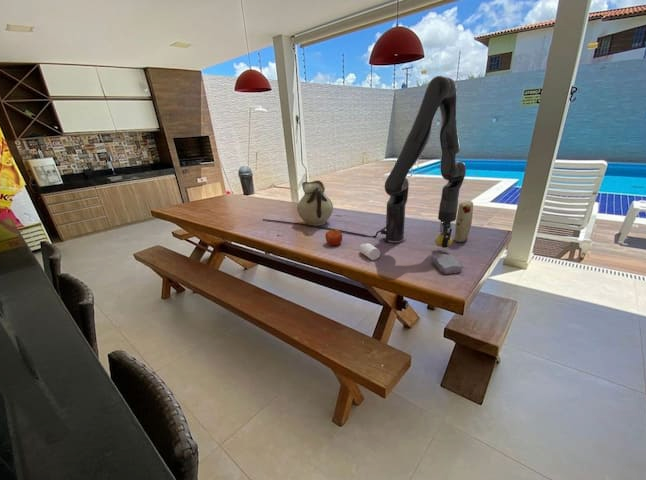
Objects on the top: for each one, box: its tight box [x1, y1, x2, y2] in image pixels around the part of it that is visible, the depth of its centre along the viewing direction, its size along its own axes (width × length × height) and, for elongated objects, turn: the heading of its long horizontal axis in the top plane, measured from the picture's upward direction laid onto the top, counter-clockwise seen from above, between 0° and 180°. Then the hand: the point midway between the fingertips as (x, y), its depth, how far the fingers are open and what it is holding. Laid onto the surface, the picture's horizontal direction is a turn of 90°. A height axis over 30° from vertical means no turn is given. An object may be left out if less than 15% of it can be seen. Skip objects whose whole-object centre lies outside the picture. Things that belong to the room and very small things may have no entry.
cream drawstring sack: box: [296, 180, 334, 227], centre depth 188 cm, size 22×24×25 cm
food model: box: [454, 200, 474, 243], centre depth 151 cm, size 10×7×20 cm
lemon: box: [434, 234, 453, 248], centre depth 141 cm, size 8×5×5 cm
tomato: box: [324, 228, 343, 246], centre depth 159 cm, size 9×9×8 cm
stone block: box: [432, 254, 464, 275], centre depth 128 cm, size 12×5×10 cm
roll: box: [359, 243, 381, 261], centre depth 144 cm, size 6×12×6 cm, turn 22°
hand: (443, 244), depth 142 cm, fingers closed on lemon, 5 cm apart
